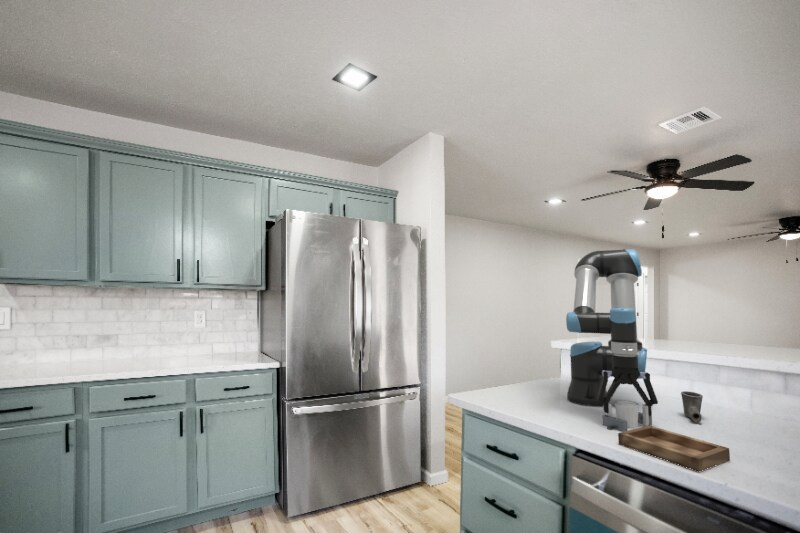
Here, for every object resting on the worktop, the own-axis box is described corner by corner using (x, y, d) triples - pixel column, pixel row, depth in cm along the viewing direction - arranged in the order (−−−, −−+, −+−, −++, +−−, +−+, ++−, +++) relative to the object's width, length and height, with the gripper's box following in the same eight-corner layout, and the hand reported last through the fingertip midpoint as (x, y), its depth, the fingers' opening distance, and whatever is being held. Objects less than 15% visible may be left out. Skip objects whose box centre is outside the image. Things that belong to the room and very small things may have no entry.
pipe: (686, 423, 128) (684, 398, 129) (680, 412, 139) (679, 390, 140) (709, 425, 125) (707, 400, 126) (701, 415, 136) (700, 392, 137)
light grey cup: (631, 429, 121) (630, 407, 122) (610, 423, 127) (609, 401, 128) (644, 426, 125) (643, 404, 125) (623, 420, 131) (622, 399, 131)
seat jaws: (598, 426, 125) (598, 416, 125) (634, 417, 133) (634, 408, 134) (619, 432, 119) (619, 422, 119) (655, 423, 127) (655, 414, 128)
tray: (618, 444, 110) (618, 433, 110) (649, 435, 116) (648, 425, 117) (699, 472, 92) (698, 459, 92) (729, 460, 99) (729, 448, 99)
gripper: (590, 355, 127) (592, 425, 125) (668, 357, 121) (672, 431, 120) (584, 352, 134) (587, 418, 132) (658, 354, 129) (662, 423, 127)
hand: (627, 424), depth 126 cm, fingers open, 10 cm apart
